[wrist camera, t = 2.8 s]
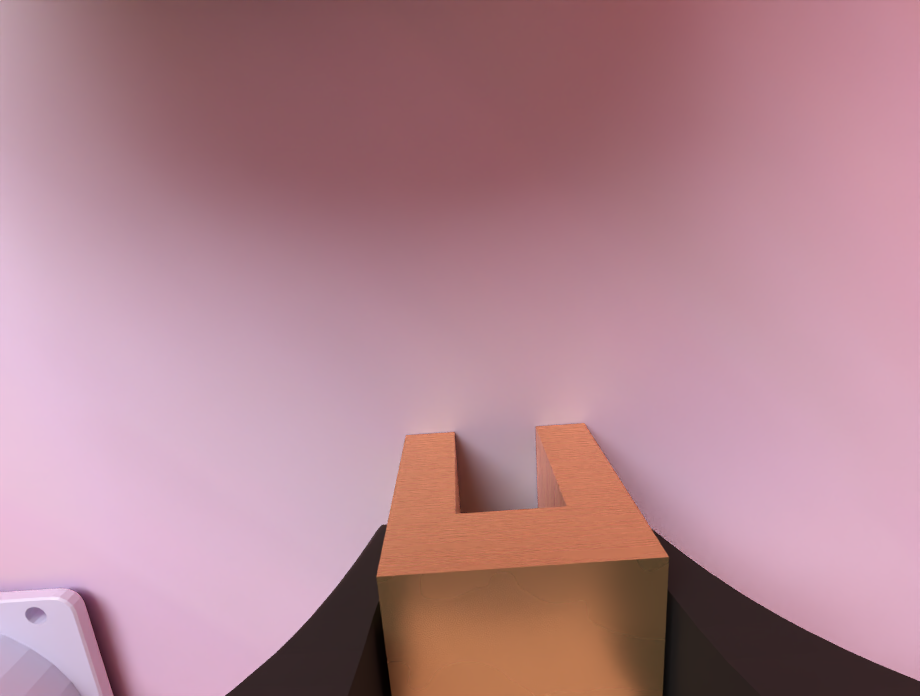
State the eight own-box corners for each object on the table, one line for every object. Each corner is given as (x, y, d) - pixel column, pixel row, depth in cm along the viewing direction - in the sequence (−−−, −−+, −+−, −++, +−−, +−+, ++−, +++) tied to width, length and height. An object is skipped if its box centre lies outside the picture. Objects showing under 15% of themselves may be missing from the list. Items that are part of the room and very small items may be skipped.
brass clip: (423, 604, 14) (407, 817, 9) (406, 435, 12) (376, 576, 8) (584, 593, 14) (657, 800, 9) (584, 423, 12) (668, 557, 8)
